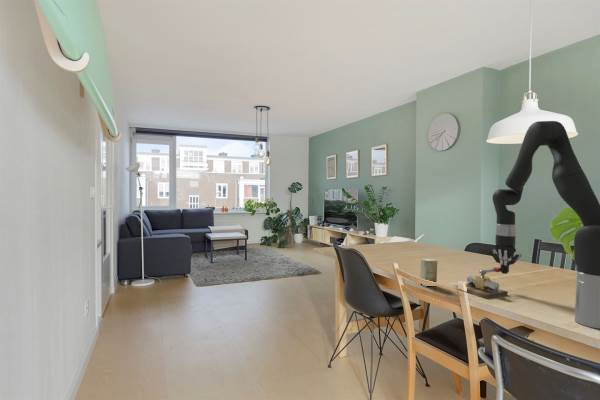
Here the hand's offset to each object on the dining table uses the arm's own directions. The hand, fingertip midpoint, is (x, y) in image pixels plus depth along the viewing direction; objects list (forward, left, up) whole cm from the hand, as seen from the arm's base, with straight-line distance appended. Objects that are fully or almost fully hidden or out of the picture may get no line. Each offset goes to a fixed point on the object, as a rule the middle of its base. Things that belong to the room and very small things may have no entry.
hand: (504, 273), depth 147 cm
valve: (+2, +11, -7) cm, 13 cm away
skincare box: (+19, +25, -8) cm, 33 cm away
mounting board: (+3, +10, -8) cm, 13 cm away
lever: (+2, +6, 0) cm, 6 cm away
